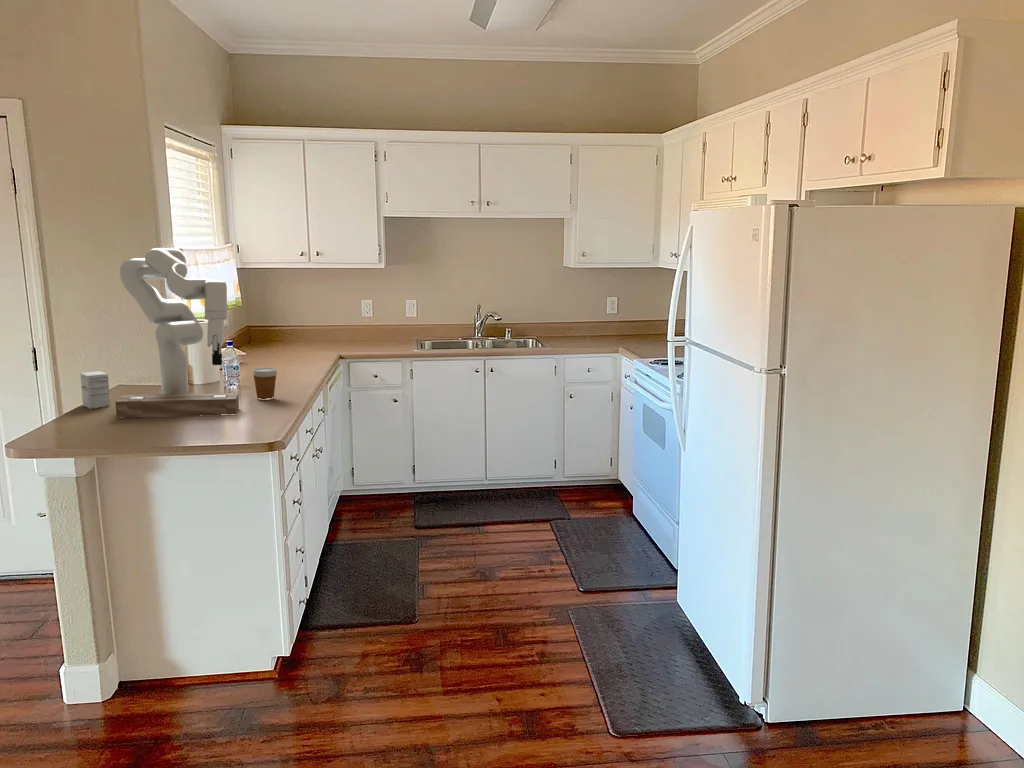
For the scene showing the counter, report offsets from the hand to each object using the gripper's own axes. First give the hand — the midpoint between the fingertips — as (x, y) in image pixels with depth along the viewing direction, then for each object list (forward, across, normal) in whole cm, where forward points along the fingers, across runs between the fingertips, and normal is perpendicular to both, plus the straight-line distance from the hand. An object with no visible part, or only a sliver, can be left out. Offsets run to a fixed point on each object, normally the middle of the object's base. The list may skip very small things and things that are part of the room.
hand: (217, 364), depth 279 cm
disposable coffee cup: (+18, -21, +16) cm, 32 cm away
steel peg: (+18, +1, -27) cm, 33 cm away
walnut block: (+18, 0, -13) cm, 22 cm away
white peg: (+18, +1, +1) cm, 18 cm away
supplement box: (+19, -15, -44) cm, 51 cm away
